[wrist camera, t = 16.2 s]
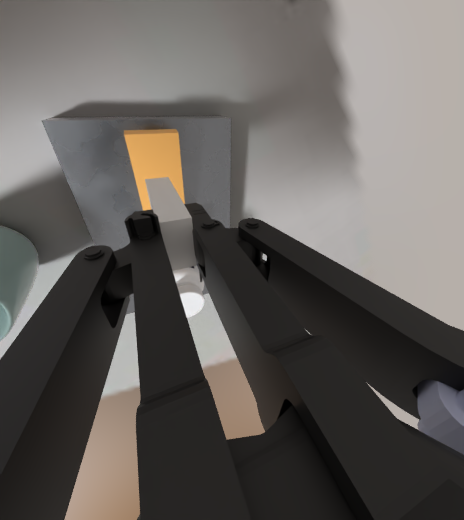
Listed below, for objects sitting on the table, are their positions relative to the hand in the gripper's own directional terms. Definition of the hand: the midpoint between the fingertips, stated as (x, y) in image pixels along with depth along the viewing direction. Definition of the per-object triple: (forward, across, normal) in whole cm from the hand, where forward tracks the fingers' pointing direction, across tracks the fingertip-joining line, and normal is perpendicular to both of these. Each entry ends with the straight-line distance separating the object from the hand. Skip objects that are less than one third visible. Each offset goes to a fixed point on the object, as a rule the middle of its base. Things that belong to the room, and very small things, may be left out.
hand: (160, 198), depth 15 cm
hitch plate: (+11, +1, -7) cm, 13 cm away
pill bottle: (+11, +1, -12) cm, 16 cm away
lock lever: (+7, +1, -1) cm, 7 cm away
